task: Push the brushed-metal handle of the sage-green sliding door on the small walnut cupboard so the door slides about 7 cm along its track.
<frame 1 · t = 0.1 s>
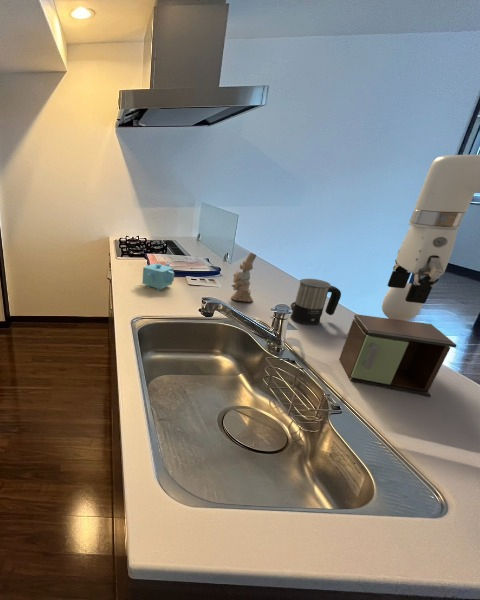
hand: (404, 294, 74), 26 cm above the worktop, tool pointing down, fingers open, 9 cm apart
figurine: (240, 299, 137), on the worktop
cupboard: (379, 375, 87), on the worktop
sliding door: (380, 363, 80), point 7 cm above the worktop, slide at 0.0 cm
milk frother: (302, 315, 122), on the worktop
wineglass: (382, 349, 99), on the worktop
teapot: (158, 286, 154), on the worktop
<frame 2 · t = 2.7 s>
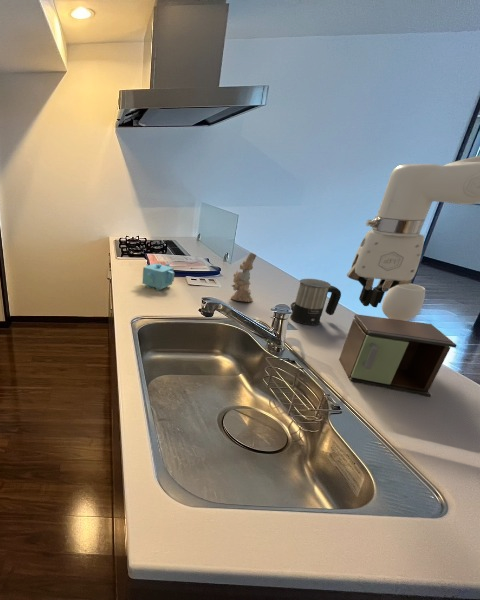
hand: (368, 304, 75), 23 cm above the worktop, tool pointing down, fingers closed
nothing on the worktop moved.
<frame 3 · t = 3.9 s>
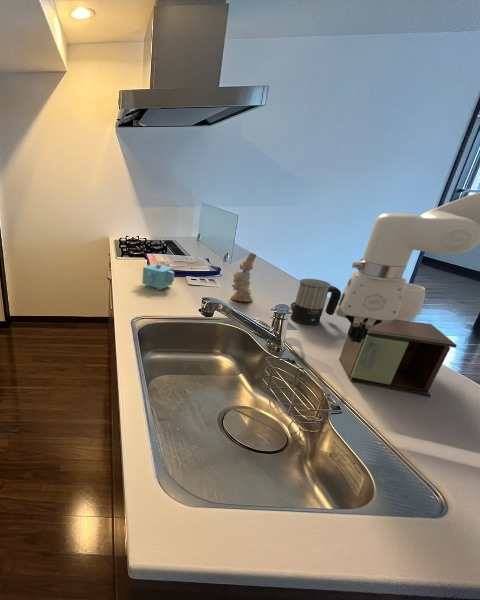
hand: (354, 339, 79), 13 cm above the worktop, tool pointing down, fingers closed
nothing on the worktop moved.
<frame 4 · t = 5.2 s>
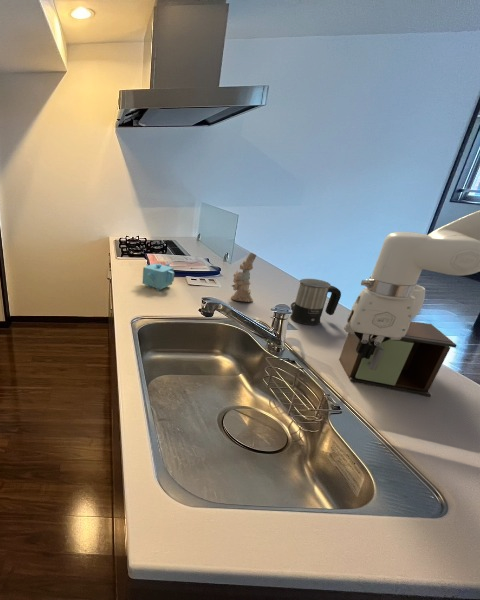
hand: (362, 355, 80), 9 cm above the worktop, tool pointing down, fingers closed
sliding door: (385, 363, 80), point 7 cm above the worktop, slide at 0.9 cm, touching gripper
everything else where it was.
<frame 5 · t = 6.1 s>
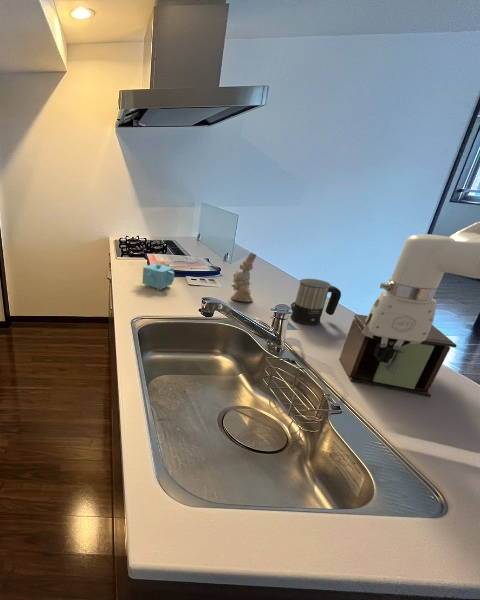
hand: (381, 359, 78), 9 cm above the worktop, tool pointing down, fingers closed
sliding door: (404, 367, 78), point 7 cm above the worktop, slide at 4.6 cm, touching gripper
everything else where it was.
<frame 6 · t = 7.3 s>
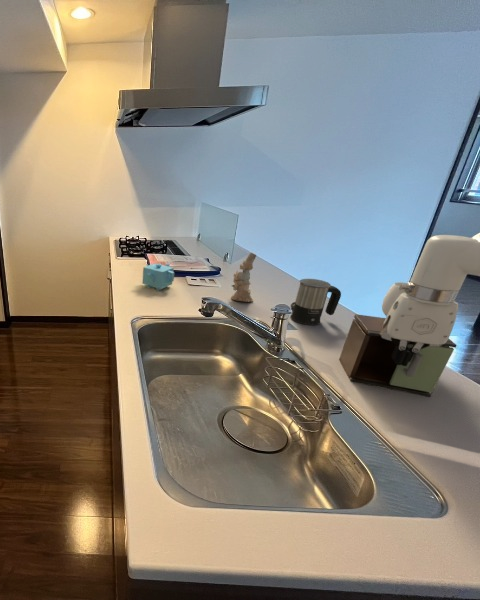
hand: (398, 362, 77), 9 cm above the worktop, tool pointing down, fingers closed
sliding door: (422, 370, 77), point 7 cm above the worktop, slide at 8.0 cm, touching gripper
everything else where it was.
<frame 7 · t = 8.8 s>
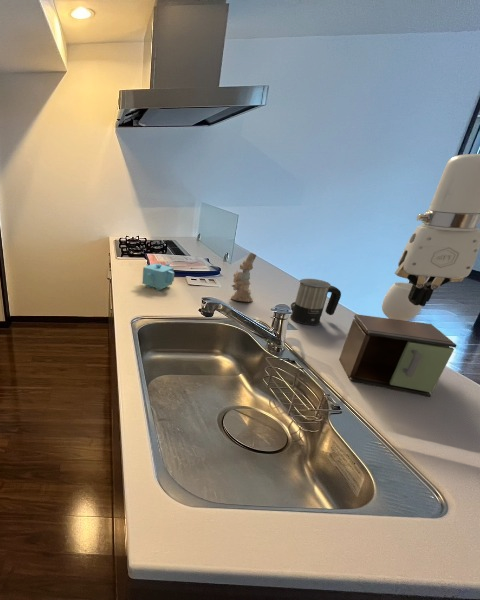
hand: (416, 303, 72), 25 cm above the worktop, tool pointing down, fingers closed
sliding door: (422, 370, 77), point 7 cm above the worktop, slide at 8.0 cm
everything else where it was.
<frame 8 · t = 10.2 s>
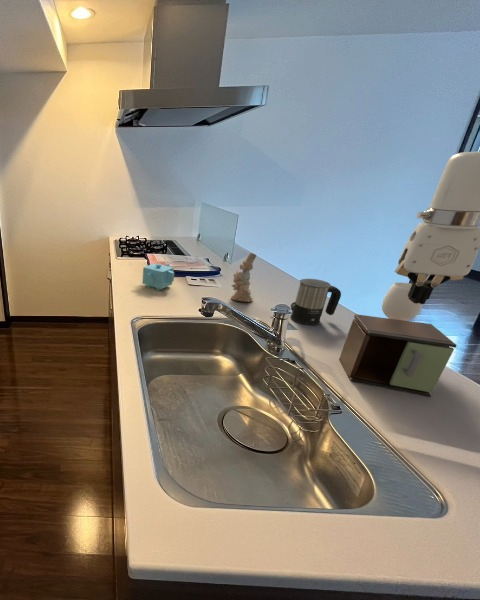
hand: (416, 301, 71), 25 cm above the worktop, tool pointing down, fingers closed
nothing on the worktop moved.
at the end: sliding door slide at 8.0 cm; the gripper is holding nothing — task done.
